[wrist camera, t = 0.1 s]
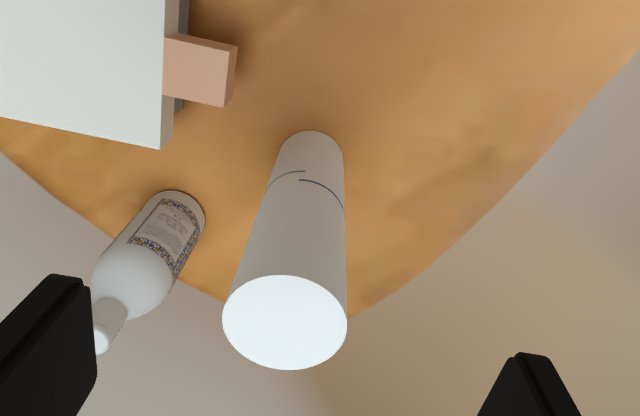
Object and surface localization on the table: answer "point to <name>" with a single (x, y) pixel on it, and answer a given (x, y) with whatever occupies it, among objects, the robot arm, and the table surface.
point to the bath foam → (143, 262)
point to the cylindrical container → (294, 262)
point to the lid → (107, 67)
